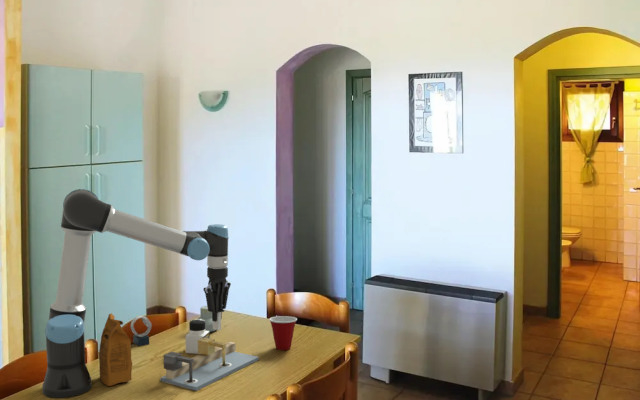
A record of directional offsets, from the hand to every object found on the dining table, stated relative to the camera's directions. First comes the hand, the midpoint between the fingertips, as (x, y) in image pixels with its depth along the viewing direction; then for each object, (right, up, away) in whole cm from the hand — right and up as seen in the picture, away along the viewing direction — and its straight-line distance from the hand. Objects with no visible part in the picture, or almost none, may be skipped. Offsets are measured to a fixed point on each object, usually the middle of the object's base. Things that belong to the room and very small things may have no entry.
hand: (216, 329), depth 250 cm
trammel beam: (-1, -11, -11) cm, 15 cm away
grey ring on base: (-32, -9, +17) cm, 38 cm away
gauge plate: (0, -12, -12) cm, 17 cm away
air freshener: (-9, -7, +34) cm, 36 cm away
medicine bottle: (-9, -10, +8) cm, 16 cm away
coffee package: (-31, -13, -21) cm, 40 cm away
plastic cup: (+24, -10, +12) cm, 29 cm away
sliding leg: (0, -10, -9) cm, 13 cm away
